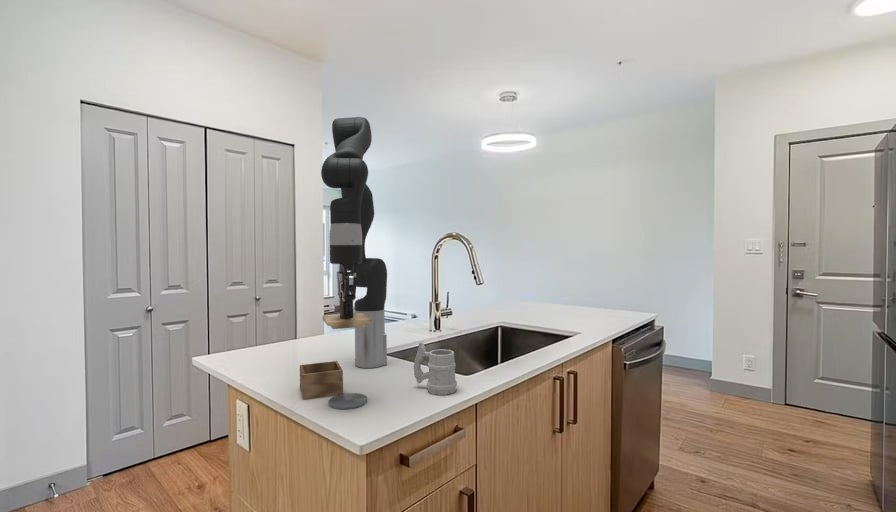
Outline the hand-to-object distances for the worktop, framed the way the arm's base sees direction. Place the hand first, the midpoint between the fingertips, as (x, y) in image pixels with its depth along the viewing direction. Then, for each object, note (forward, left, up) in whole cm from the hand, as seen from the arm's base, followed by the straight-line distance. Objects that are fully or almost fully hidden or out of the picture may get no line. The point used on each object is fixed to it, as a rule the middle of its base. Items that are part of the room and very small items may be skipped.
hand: (346, 316), depth 101 cm
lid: (0, 0, -1) cm, 1 cm away
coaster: (0, 0, -21) cm, 21 cm away
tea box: (+5, -11, -21) cm, 24 cm away
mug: (-22, 0, -21) cm, 30 cm away
